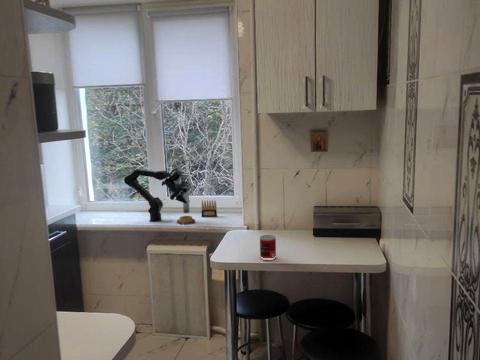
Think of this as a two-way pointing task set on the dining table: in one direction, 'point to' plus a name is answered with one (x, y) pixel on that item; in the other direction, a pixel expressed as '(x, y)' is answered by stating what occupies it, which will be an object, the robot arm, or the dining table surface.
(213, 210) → the ammunition clip
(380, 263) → the dining table surface
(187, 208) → the drive pin
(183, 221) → the sprocket
